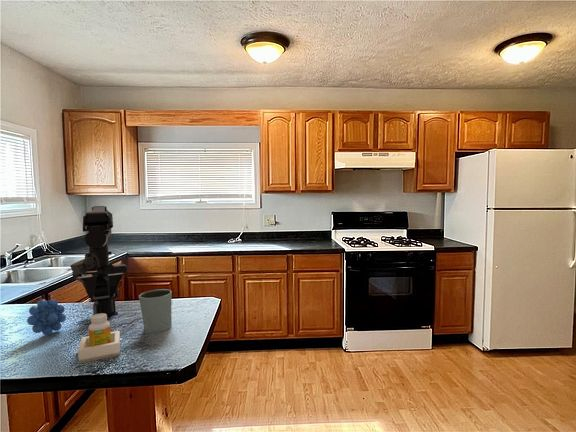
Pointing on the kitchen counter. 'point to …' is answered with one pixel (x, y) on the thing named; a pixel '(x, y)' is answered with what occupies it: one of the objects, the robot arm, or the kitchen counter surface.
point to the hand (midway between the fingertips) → (100, 297)
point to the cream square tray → (99, 349)
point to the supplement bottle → (99, 330)
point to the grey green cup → (156, 310)
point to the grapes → (46, 316)
